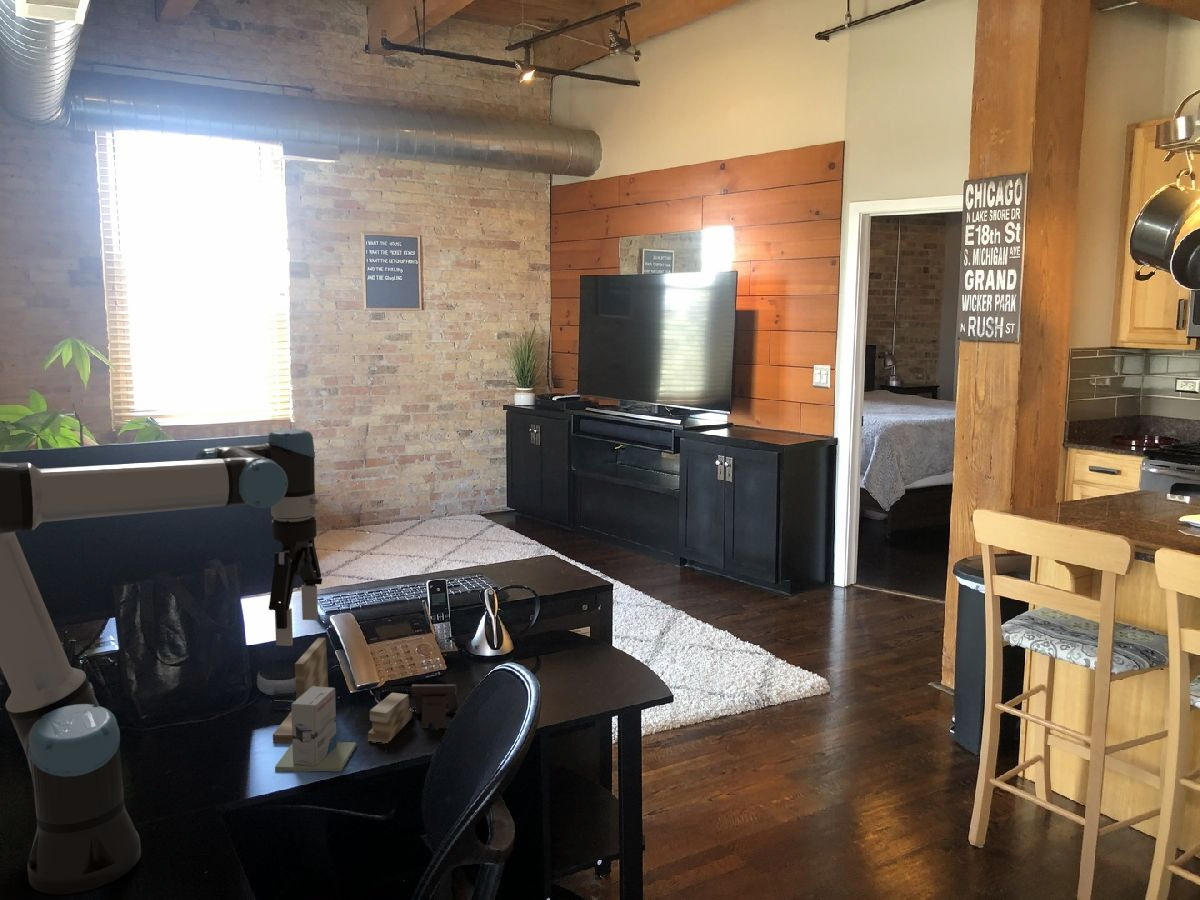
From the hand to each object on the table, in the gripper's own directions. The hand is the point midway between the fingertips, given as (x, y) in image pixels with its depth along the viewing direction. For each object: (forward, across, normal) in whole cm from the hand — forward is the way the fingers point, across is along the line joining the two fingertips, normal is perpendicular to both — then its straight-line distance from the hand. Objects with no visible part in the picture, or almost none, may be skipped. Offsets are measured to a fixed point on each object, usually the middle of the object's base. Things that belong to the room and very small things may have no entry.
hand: (297, 631), depth 177 cm
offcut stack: (+25, +14, -13) cm, 31 cm away
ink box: (+24, +1, -2) cm, 24 cm away
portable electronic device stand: (+25, +19, -21) cm, 38 cm away
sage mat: (+25, +1, -2) cm, 25 cm away
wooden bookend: (+25, +14, +5) cm, 29 cm away
